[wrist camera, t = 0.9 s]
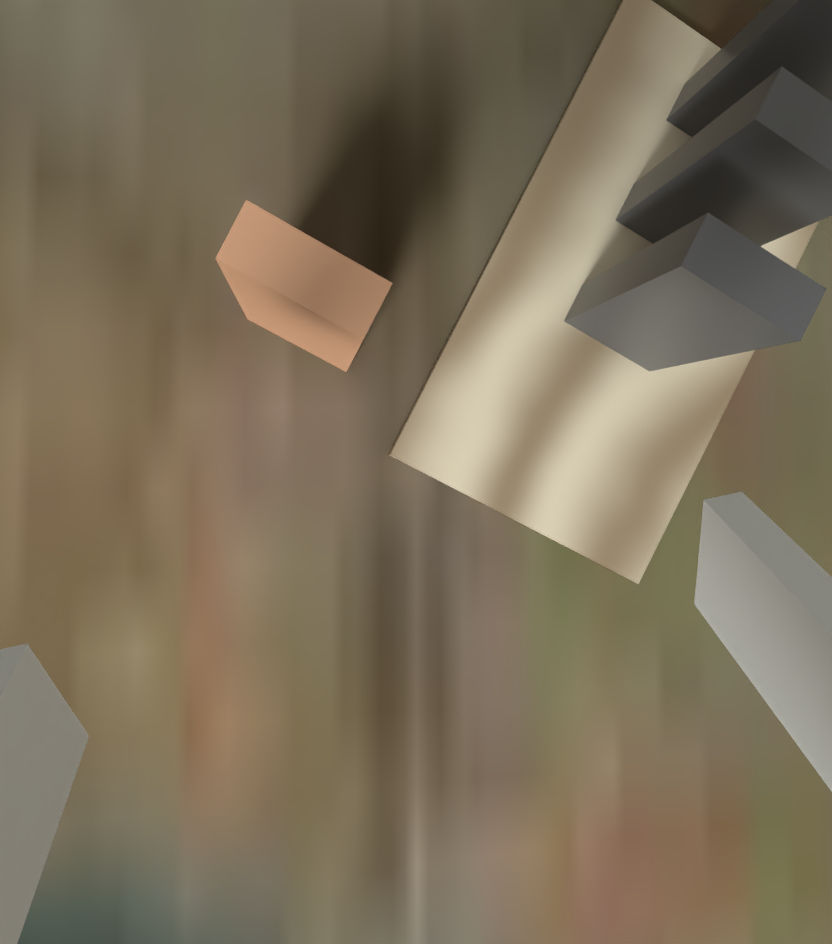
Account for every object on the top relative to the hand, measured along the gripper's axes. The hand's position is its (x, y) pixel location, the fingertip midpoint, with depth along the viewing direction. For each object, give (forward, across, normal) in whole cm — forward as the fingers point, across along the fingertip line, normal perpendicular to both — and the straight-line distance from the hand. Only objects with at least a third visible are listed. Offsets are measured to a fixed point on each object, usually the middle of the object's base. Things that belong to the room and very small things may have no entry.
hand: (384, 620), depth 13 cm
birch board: (+21, +14, -2) cm, 25 cm away
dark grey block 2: (+20, +13, -3) cm, 23 cm away
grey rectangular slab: (+22, +16, 0) cm, 27 cm away
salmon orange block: (+20, -2, 0) cm, 20 cm away
